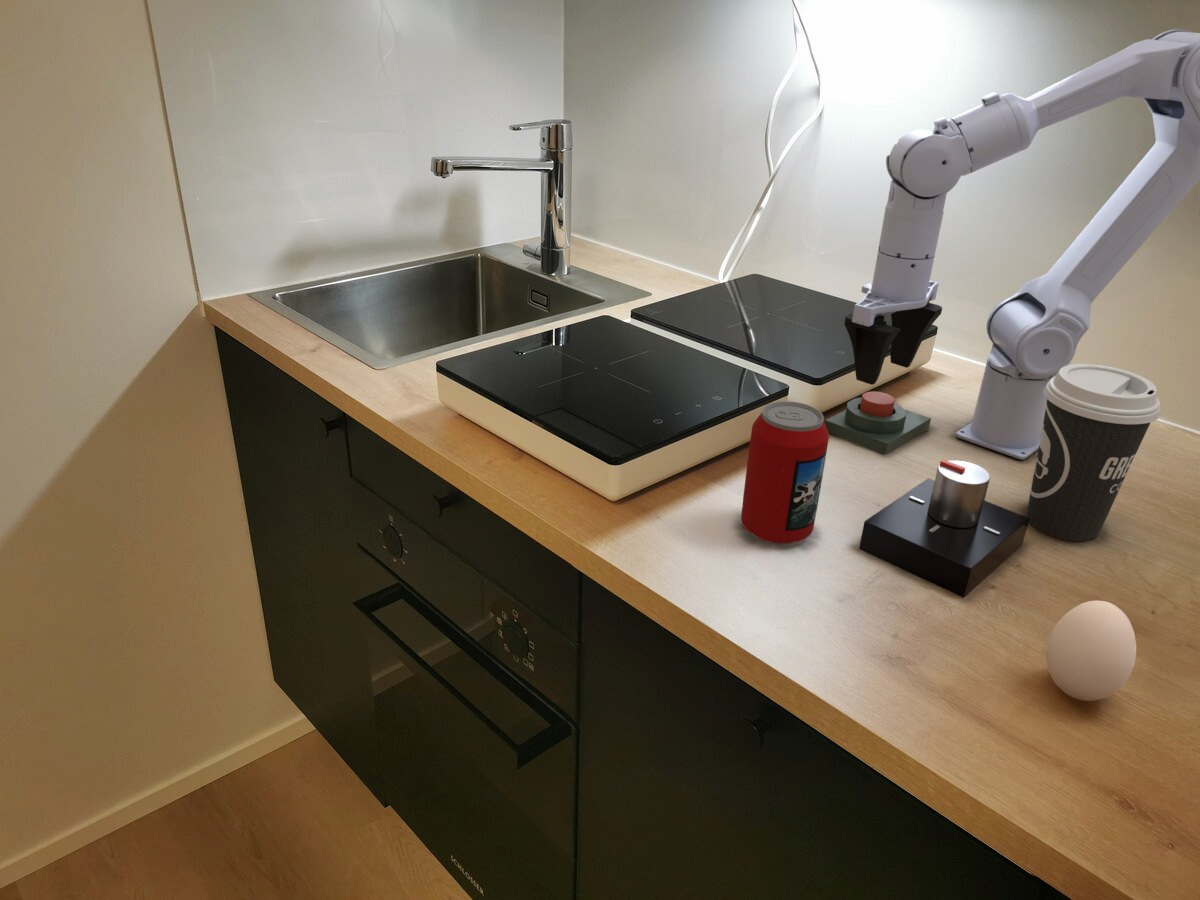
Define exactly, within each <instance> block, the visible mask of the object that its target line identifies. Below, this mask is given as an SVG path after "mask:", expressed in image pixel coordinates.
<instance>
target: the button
mask: <svg viewBox="0 0 1200 900" xmlns="http://www.w3.org/2000/svg"><path fill="white" fill-rule="evenodd" d="M861 398H862V400H861V405H860V411H862V412H863V413H866V414H868V415H871V416H878V417H887V416H891V415H892V413H893V408H894V403H896V399H895V398H894V396H892V395H891V394H888V393H885V392H882V391H867V392H864V393H863V394H862V395H861Z"/></svg>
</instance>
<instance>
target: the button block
mask: <svg viewBox="0 0 1200 900" xmlns="http://www.w3.org/2000/svg"><path fill="white" fill-rule="evenodd" d="M861 400H862V397H855V398H853V399H851V400H849V401H847V403H846V408H845V409H844V410H842V411H840V412H838V413H836V414H834V415H832V416H830V417H829V418H827V419H824V423H825V425H826V428H827V430H828V433H829V434H830V435H833V436H836V437H839V438H841V439H843V440H846V441H848V442H851V443H854V444H857V445H858V446H862V447H864V448H867V449H869V450H871V451H875V452H878V453H879V454H882V455H888V454H889V453H891V452H893V451H895V450H896V449H898V448H899V447H902V446H903V445H904V444H906V443H908V442H909V441H911V440H913V439H915V438H916V437H918V436H919V435H922V434H923V433H924V432H926V431H928V430H929V429H930V425H931V421H932V418H931V417H929V416H925V415H923V414H920V413H917V412H914V411H911V410H909V409H905V408H904V407H903V406H901V405H900V404H899V403H897V402H895V403H894V408H893V413H892V415H891V416H887V417H878V416H871V415H868V414H866V413H863V412H862V411H860V405H861Z"/></svg>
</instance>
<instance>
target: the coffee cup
mask: <svg viewBox="0 0 1200 900" xmlns="http://www.w3.org/2000/svg"><path fill="white" fill-rule="evenodd" d="M1043 393H1044V395H1045V397H1046V398H1047V403H1046V409H1045V415H1044V421H1043V426H1042V432H1041V437H1040V443H1039V448H1038V450H1037V454H1036V460H1035V464H1034V471H1033V477H1032V481H1031V487H1030V492H1029V498H1028V504H1027V509H1026V516H1025V517H1028V518H1030V520H1029V524H1030V525H1031V526H1032V527H1034V528H1035V529H1037V530H1038V531H1040V532H1042V533H1043V534H1046V535H1048V536H1049V537H1053V538H1056V539H1060V540H1063V541H1070V542H1088V541H1092V540H1094V539H1096V538H1097V537H1099V535H1100V533H1101V531H1102V529H1103V526H1104V524H1105V522H1106V520H1107V517H1108V515H1109V513H1110V511H1111V509H1112V507H1113V504H1114V502H1115V500H1116V498H1117V496H1118V494H1119V492H1120V489H1121V487H1122V485H1123V483H1124V482H1125V481H1124V480H1125V479H1126V476H1127V475H1128V472H1129V470H1130V468H1131V466H1132V463H1133V462H1134V459H1135V457H1136V455H1137V452H1138V451H1139V448H1140V446H1141V444H1142V442H1143V440H1144V437H1145V436H1146V433H1147V432H1148V430H1149V427H1150V425H1151V423H1153V422H1155V421H1157V420H1158V419H1159V418H1160V417H1161V414H1162V413H1161V412H1162V411H1161V409H1162V406H1161V401H1160V399H1159V398H1158V388H1157V386H1156V385H1155V384H1154V383H1153V382H1152V381H1151V380H1149V379H1148V378H1146V377H1143V376H1141V375H1140V374H1138V373H1135V372H1131V371H1129V370H1126V369H1123V368H1122V369H1121V368H1118V367H1114V366H1108V365H1103V364H1094V363H1073V364H1068V365H1067V366H1064V367H1062V368H1061V369H1060V370H1059V372H1058V373H1057V375H1056V376H1054V377H1053V378H1051V379H1050V381H1049V382H1048V383H1047V385H1046V386H1045V388H1044V390H1043Z"/></svg>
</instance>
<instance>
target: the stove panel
mask: <svg viewBox="0 0 1200 900" xmlns="http://www.w3.org/2000/svg"><path fill="white" fill-rule="evenodd" d="M934 482H935V479H934V480H933V479H931V478H927V479H925V480H924V481H922V482H921V483H919V484H918V485H916V486H914V488H912V489H910V490H909V491H907V492H905V493H904V494H903V495H901V496H900V497H898V498H897V499H896V500H894V501H892V502H891V503H889V504H888V505H887V506H884V507H883V508H882V509H880V510H878V511H877V512H876V513H875V514H873V515H871V516H870V517H868V518H867V519H865V520H864V521H863V526H862V531H861V535H860V536H861V537H860V542H859V546H858V550H860V551H862V552H865V553H867V554H868V555H870V556H873V557H875V558H877V559H879V560H880V561H881V560H882V561H884V562H886V563H887V564H890V565H892V566H894V567H896V568H899V569H900V570H903V571H905V572H907V573H909V574H912V575H914V576H916V577H918V578H920V579H921V580H923V581H927V582H929V583H931V584H933V585H935V586H936V587H939V588H941V589H943V590H946V591H947V592H950V593H952V594H954V595H956V596H958V597H961V598H963V599H964V598H965V597H967V596H968V594H970V593H971V592H972V591H973V590H975V588H976V587H977V586H979V585H980V584H981V583H982V582H983V581H984V580H985V579H987V577H989V576H990V575H991V574H992V573H993V572H994V571H995V570H997V569H998V567H1000V566H1001V565H1002V564H1003V563H1004V562H1005V561H1007V560H1008V559H1009V558H1010V557H1012V555H1013V554H1015V552H1016V551H1018V550H1019V549H1020V548H1021V547H1023V544H1024V542H1025V541H1024V540H1025V537H1026V533H1027V530H1028V527H1029V524H1030V522H1029V520H1030V518H1028V517H1027V516H1025V515H1022V514H1020V513H1018V512H1015V511H1012V510H1011V509H1008V508H1005V507H1002V506H1001V505H1000V506H999V505H997V504H995V503H992V502H990V501H987V500H985V499H984V503H983V507H982V511H981V515H980V518H979V522H978V523H977V524H976V525H975V526H973V527H969V528H957V527H951V526H948V525H944V524H942V523H940V522H938V521H936V520H935V519H933V518H932V517H931V516H930V515H929V512H928V508H929V503H930V499H931V495H932V490H933V486H934Z"/></svg>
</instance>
